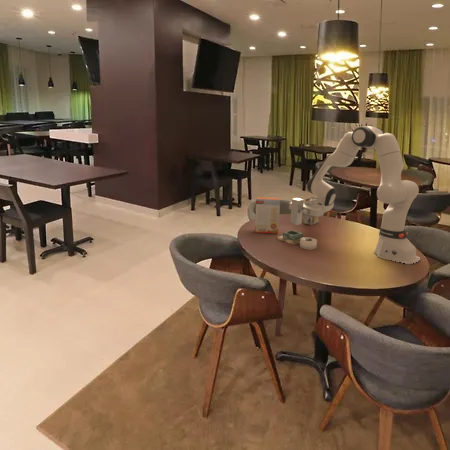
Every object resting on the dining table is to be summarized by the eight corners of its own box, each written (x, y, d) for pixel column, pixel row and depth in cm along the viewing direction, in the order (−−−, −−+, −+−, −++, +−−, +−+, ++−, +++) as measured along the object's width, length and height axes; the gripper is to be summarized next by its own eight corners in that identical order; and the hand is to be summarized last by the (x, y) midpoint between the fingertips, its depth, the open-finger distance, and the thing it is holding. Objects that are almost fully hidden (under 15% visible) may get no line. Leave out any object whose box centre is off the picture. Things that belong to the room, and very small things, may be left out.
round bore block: (319, 247, 230) (320, 240, 229) (309, 250, 225) (309, 243, 224) (306, 243, 237) (307, 236, 236) (296, 246, 231) (296, 238, 230)
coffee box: (309, 220, 282) (311, 196, 278) (318, 222, 279) (320, 198, 274) (303, 223, 275) (305, 199, 271) (312, 225, 272) (314, 200, 267)
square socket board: (307, 240, 241) (308, 233, 240) (293, 244, 233) (293, 237, 232) (291, 235, 250) (292, 228, 248) (277, 238, 242) (278, 231, 241)
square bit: (301, 223, 239) (303, 199, 235) (296, 225, 236) (298, 200, 232) (295, 221, 242) (297, 197, 238) (290, 223, 239) (292, 198, 235)
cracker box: (277, 231, 257) (280, 197, 251) (278, 234, 251) (280, 199, 245) (254, 229, 258) (256, 196, 252) (254, 232, 252) (256, 198, 246)
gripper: (298, 198, 251) (282, 201, 243) (326, 205, 236) (310, 209, 228) (297, 208, 253) (281, 211, 245) (325, 216, 238) (309, 220, 230)
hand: (295, 210), depth 236 cm, fingers closed on square bit, 4 cm apart
